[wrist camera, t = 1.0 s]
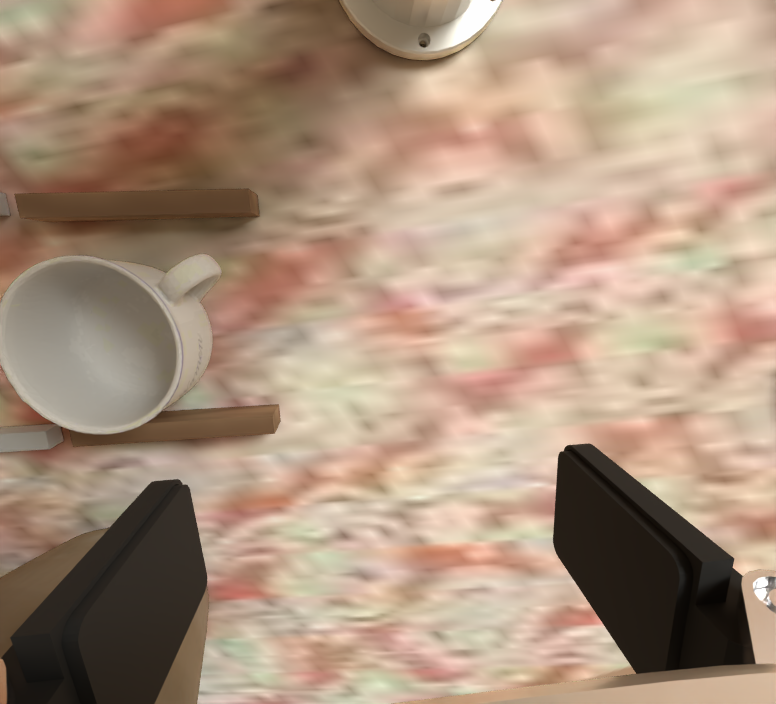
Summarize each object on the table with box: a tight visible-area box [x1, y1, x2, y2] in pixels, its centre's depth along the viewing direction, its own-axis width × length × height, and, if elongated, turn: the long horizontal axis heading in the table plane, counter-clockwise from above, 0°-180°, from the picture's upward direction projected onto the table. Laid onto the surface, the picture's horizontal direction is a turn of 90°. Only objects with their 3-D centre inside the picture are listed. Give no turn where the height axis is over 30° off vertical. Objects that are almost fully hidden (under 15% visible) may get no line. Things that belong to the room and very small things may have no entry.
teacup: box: [0, 254, 222, 435], centre depth 27 cm, size 14×11×8 cm
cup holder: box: [15, 189, 281, 447], centre depth 29 cm, size 18×15×2 cm
